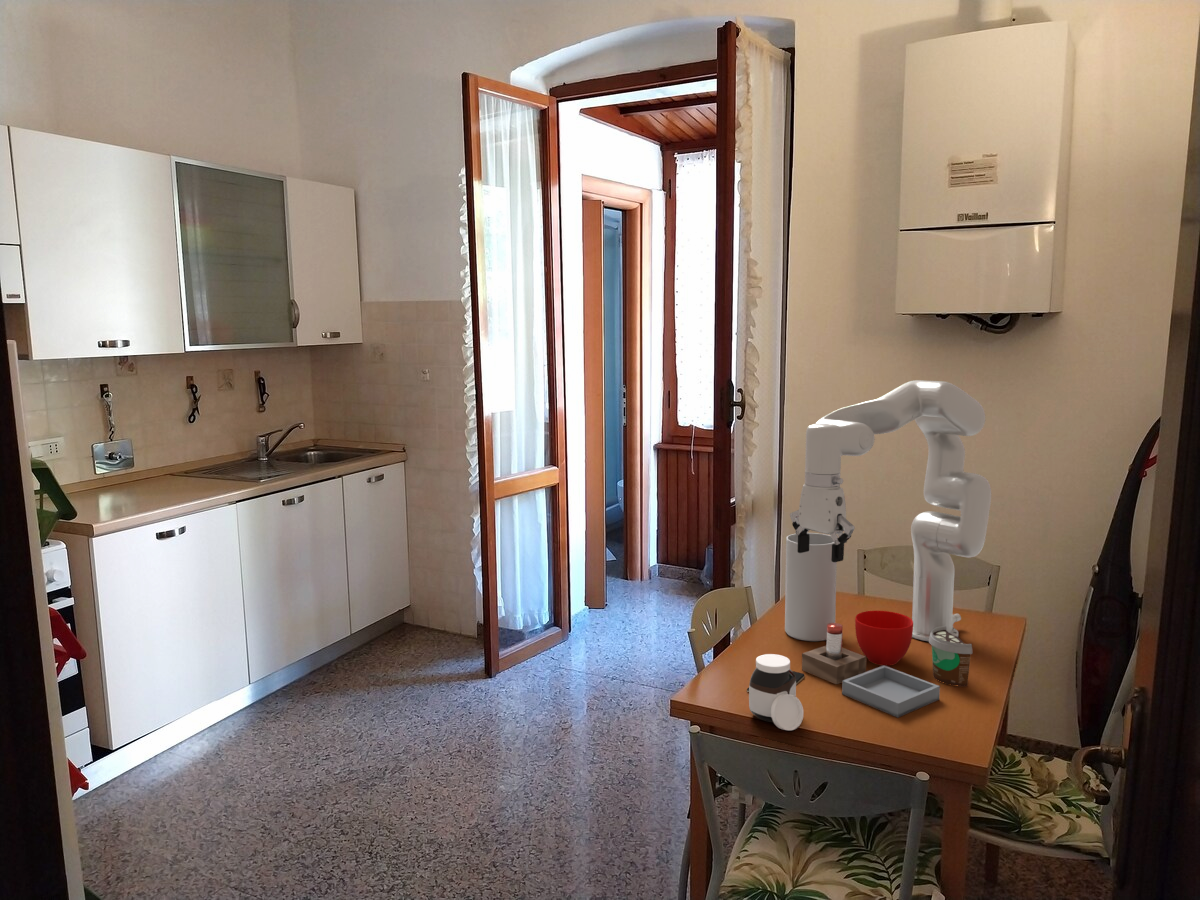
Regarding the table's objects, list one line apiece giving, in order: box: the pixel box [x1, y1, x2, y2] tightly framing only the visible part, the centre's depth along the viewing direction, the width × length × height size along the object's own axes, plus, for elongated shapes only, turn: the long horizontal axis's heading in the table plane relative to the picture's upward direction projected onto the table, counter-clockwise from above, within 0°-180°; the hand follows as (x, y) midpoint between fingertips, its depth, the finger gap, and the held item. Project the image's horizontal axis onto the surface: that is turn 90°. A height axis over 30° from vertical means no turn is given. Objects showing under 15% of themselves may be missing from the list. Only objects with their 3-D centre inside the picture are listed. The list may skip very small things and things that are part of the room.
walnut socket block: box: [801, 644, 867, 685], centre depth 195 cm, size 10×10×4 cm
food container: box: [928, 626, 973, 687], centre depth 190 cm, size 12×6×10 cm, turn 5°
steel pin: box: [826, 622, 844, 661], centre depth 195 cm, size 3×3×11 cm
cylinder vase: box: [784, 532, 838, 642], centre depth 218 cm, size 12×12×25 cm
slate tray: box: [841, 665, 941, 719], centre depth 181 cm, size 14×14×3 cm
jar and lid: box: [748, 653, 804, 731], centre depth 172 cm, size 12×11×12 cm
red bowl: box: [854, 610, 913, 666], centre depth 202 cm, size 13×17×10 cm
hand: (820, 556), depth 189 cm, fingers open, 9 cm apart
